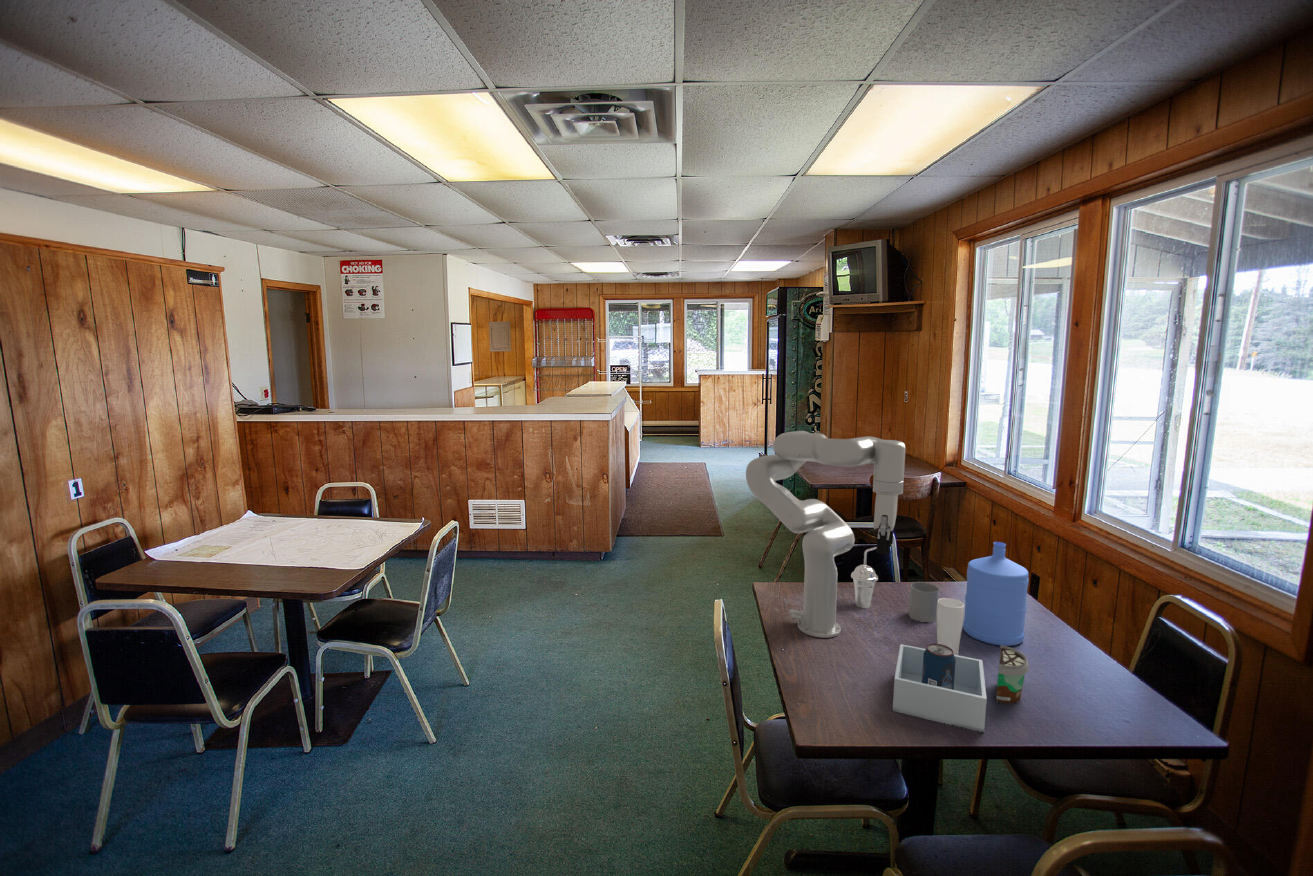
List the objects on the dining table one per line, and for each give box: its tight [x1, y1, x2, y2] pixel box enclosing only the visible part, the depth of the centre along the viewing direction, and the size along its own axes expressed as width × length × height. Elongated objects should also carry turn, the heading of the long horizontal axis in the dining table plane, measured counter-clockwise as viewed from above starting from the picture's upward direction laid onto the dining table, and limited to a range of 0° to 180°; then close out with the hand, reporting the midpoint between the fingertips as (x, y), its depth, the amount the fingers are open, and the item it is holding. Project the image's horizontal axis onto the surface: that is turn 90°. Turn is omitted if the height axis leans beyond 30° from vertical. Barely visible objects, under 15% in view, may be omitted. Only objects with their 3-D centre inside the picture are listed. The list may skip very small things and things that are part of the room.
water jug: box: [962, 541, 1029, 647], centre depth 173 cm, size 16×16×28 cm
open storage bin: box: [892, 643, 987, 732], centre depth 140 cm, size 19×19×8 cm
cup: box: [908, 581, 940, 623], centre depth 186 cm, size 8×8×10 cm
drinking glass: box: [936, 597, 965, 655], centre depth 162 cm, size 7×7×15 cm
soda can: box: [922, 643, 956, 690], centre depth 140 cm, size 7×7×12 cm
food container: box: [995, 645, 1030, 704], centre depth 142 cm, size 12×6×10 cm, turn 148°
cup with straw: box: [850, 546, 879, 609], centre depth 194 cm, size 8×9×20 cm
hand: (884, 548), depth 159 cm, fingers open, 9 cm apart
